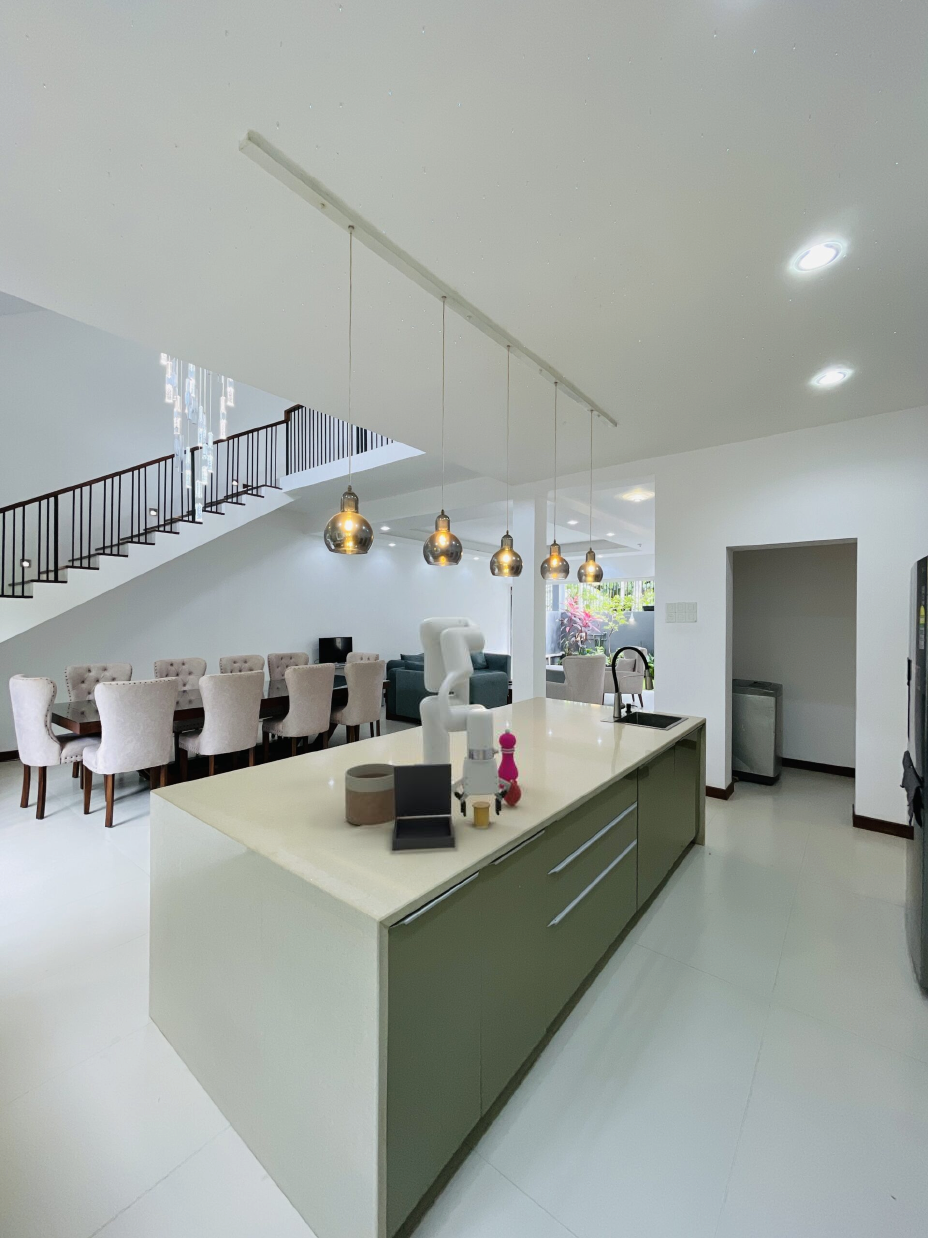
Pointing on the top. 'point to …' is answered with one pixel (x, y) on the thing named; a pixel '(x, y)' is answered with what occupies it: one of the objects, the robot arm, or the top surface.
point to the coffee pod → (481, 813)
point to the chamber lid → (422, 790)
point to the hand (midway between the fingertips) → (480, 814)
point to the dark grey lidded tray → (423, 833)
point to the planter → (370, 794)
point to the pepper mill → (507, 758)
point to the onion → (513, 794)
